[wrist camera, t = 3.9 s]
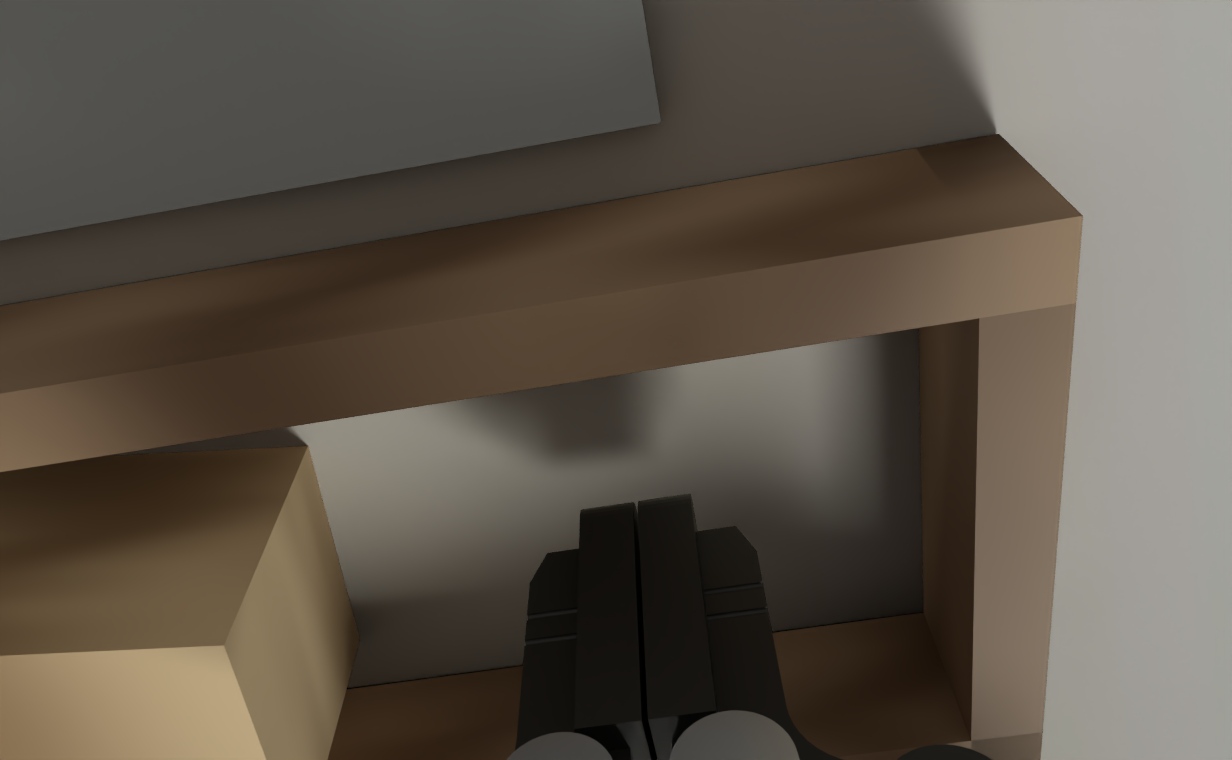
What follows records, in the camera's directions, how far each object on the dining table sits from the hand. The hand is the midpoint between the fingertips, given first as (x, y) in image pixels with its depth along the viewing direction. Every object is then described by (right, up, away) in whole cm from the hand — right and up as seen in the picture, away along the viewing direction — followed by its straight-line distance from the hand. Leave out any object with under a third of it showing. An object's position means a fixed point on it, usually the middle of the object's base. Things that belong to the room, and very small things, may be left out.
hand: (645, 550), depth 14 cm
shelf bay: (-3, 0, +2) cm, 4 cm away
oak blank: (-8, 0, +2) cm, 9 cm away
